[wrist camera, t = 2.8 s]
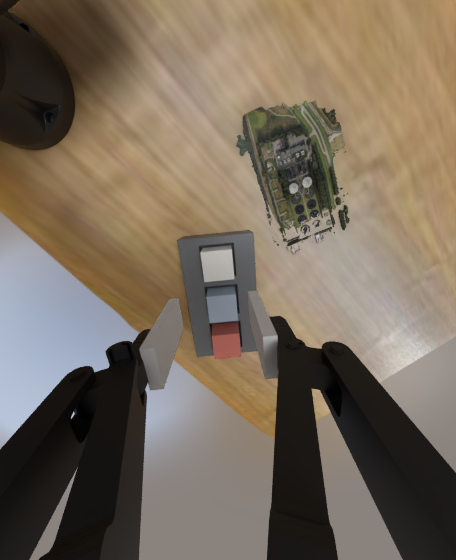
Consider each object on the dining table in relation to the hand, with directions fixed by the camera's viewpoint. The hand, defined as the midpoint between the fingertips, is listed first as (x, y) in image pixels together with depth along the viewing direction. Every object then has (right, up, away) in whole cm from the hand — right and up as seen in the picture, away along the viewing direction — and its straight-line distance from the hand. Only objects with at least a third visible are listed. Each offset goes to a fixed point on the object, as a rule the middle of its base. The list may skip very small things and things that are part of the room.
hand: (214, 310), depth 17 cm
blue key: (0, -1, +20) cm, 20 cm away
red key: (+1, -8, +22) cm, 23 cm away
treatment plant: (+13, +20, +19) cm, 30 cm away
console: (0, 0, +24) cm, 24 cm away
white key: (-1, +6, +18) cm, 19 cm away
